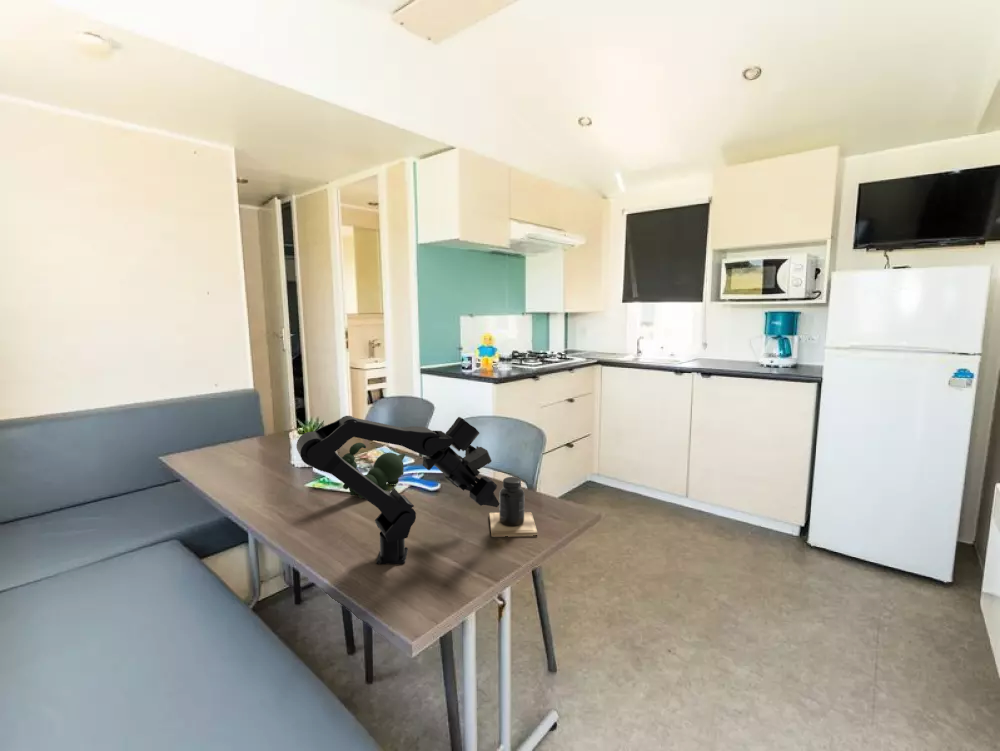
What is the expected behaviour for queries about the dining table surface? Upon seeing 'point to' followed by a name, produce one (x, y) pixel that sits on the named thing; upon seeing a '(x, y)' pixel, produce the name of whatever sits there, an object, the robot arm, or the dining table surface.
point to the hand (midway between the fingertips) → (489, 498)
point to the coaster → (521, 530)
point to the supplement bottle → (511, 502)
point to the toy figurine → (378, 468)
